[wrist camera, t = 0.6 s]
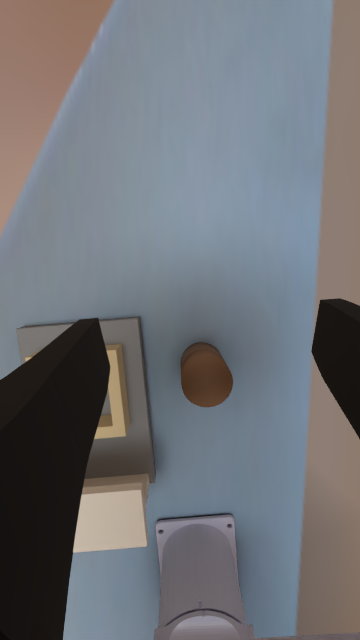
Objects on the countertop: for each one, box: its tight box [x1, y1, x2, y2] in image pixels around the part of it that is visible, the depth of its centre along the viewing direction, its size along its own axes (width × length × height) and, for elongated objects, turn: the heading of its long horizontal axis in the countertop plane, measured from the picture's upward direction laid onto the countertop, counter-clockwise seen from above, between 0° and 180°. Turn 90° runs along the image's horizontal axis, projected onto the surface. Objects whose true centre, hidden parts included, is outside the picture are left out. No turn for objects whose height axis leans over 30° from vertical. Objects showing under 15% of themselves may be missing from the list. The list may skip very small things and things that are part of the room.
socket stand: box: [16, 317, 156, 553], centre depth 26 cm, size 16×11×9 cm
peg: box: [181, 343, 233, 407], centre depth 27 cm, size 4×4×6 cm
